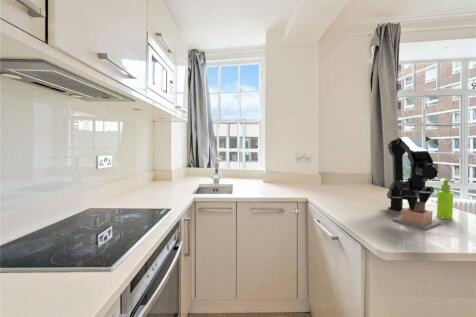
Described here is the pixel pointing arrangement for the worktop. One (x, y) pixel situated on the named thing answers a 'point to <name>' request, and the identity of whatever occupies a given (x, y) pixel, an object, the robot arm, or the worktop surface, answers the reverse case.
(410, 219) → the terracotta well
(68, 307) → the worktop surface
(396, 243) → the worktop surface
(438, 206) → the soap dispenser
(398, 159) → the robot arm
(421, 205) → the walnut block
